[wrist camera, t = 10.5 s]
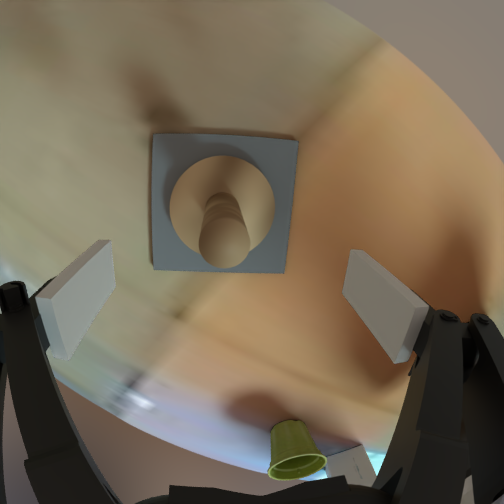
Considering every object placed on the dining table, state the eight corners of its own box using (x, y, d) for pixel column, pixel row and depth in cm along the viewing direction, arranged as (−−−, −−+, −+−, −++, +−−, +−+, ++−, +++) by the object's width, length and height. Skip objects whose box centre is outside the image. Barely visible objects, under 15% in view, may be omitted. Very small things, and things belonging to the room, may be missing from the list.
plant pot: (250, 427, 42) (256, 469, 34) (302, 405, 41) (316, 448, 33) (274, 447, 45) (282, 484, 37) (321, 428, 45) (334, 465, 37)
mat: (297, 141, 27) (298, 141, 27) (283, 271, 32) (284, 273, 32) (154, 133, 26) (153, 133, 25) (154, 267, 31) (153, 269, 30)
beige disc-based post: (276, 158, 27) (312, 168, 17) (268, 255, 31) (293, 313, 20) (172, 154, 26) (143, 161, 16) (172, 253, 30) (150, 311, 19)
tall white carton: (362, 444, 50) (401, 533, 27) (360, 459, 53) (392, 538, 30) (324, 456, 50) (355, 550, 26) (325, 470, 53) (352, 554, 30)
